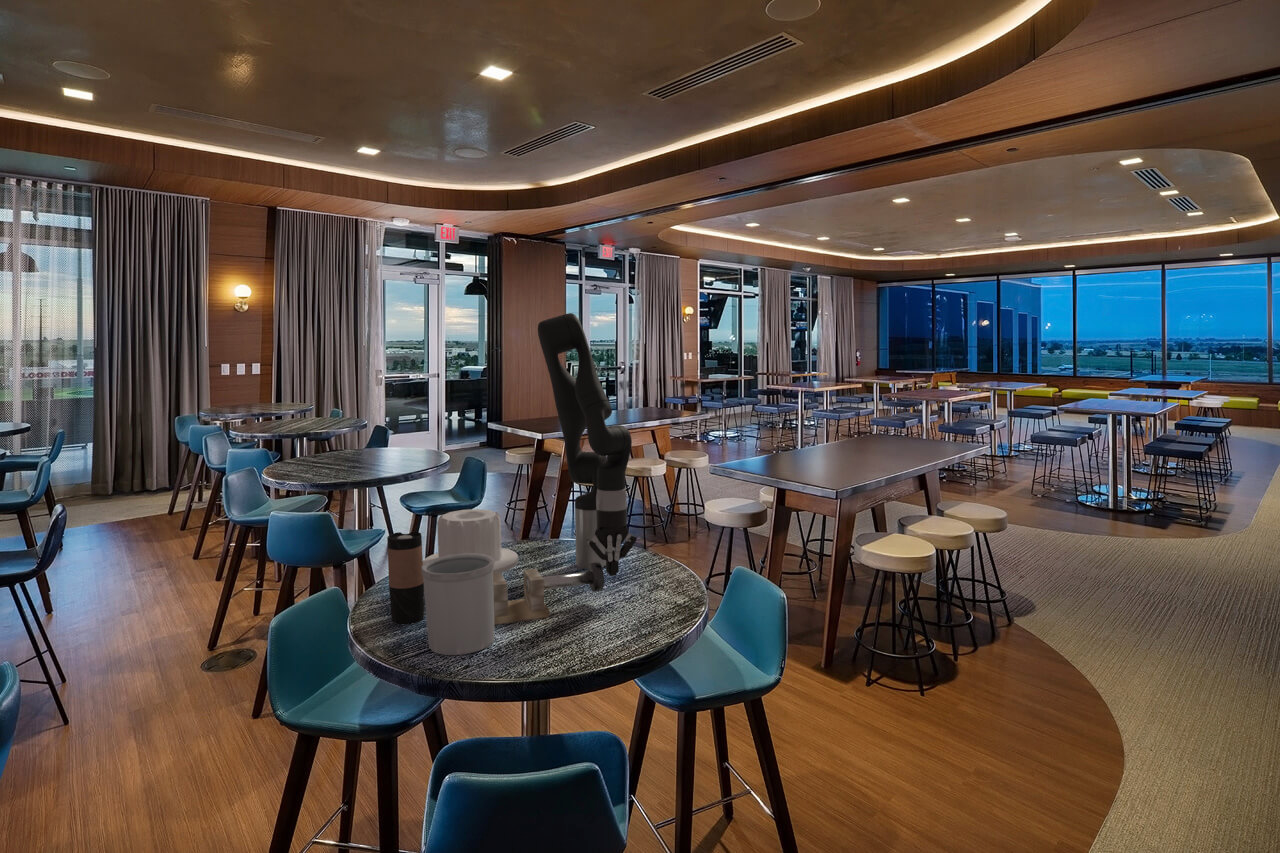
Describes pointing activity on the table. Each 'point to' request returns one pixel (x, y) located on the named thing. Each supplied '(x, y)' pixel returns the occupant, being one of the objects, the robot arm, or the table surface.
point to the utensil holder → (459, 603)
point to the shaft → (576, 579)
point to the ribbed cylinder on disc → (473, 537)
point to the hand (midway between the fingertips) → (612, 574)
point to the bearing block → (520, 608)
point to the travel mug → (406, 577)
